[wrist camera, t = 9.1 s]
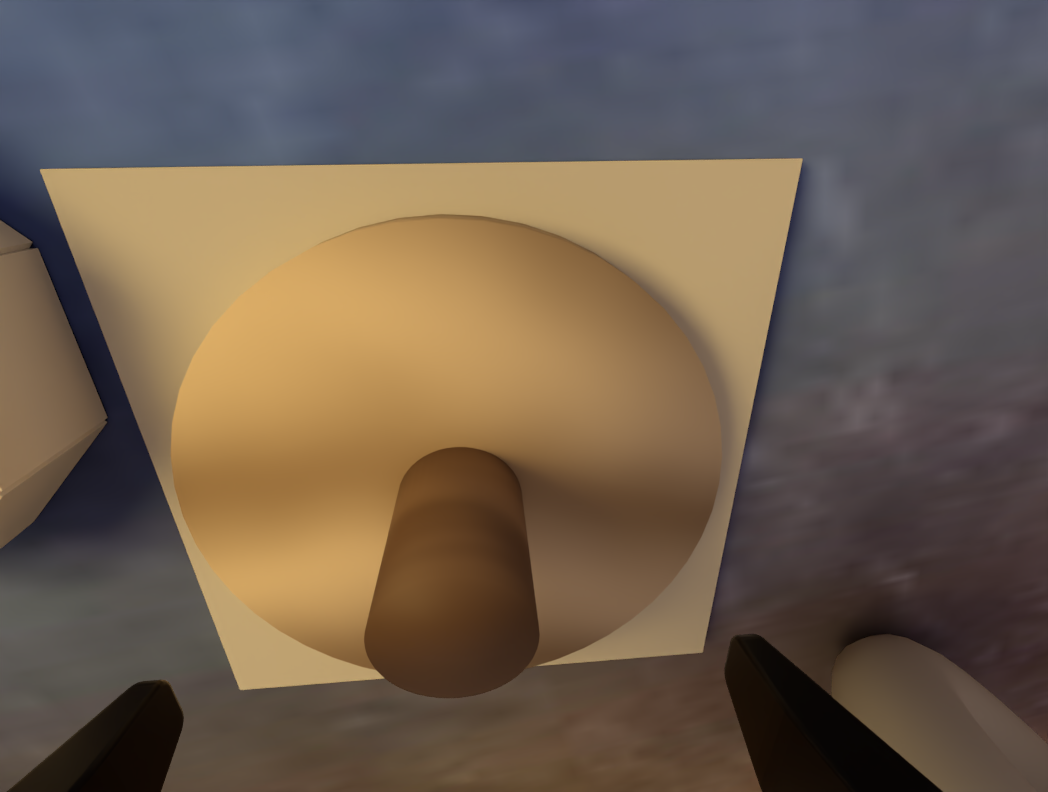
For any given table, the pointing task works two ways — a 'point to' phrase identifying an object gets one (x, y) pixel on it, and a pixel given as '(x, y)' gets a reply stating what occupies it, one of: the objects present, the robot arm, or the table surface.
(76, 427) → the dish
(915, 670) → the donut
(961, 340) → the table surface
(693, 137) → the table surface
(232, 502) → the lid
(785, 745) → the robot arm
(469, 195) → the mat
